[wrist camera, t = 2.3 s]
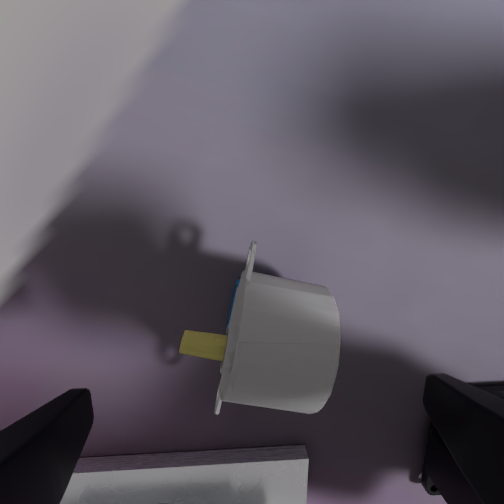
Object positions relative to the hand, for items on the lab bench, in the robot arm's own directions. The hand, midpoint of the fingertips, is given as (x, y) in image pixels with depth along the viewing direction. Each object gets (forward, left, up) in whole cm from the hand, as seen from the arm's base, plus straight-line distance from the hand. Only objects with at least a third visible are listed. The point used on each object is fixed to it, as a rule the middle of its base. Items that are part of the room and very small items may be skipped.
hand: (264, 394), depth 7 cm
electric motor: (0, 0, -6) cm, 6 cm away
